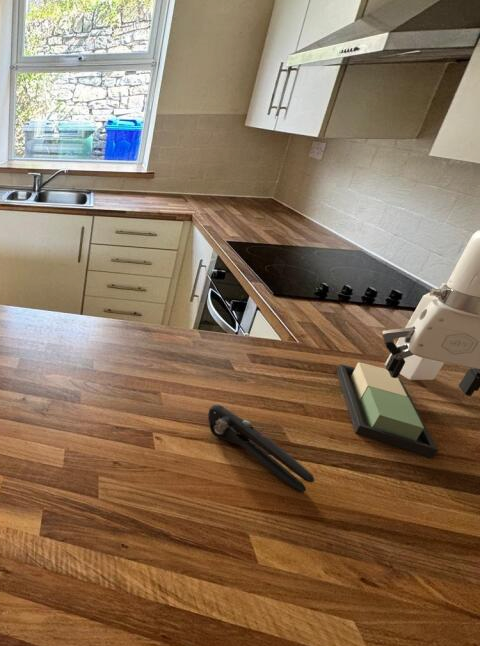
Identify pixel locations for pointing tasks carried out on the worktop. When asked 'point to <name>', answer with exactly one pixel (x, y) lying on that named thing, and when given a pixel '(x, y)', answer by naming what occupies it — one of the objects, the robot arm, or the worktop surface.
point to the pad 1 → (375, 380)
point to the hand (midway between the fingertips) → (426, 382)
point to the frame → (360, 425)
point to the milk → (414, 364)
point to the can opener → (240, 433)
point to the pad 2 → (391, 413)
